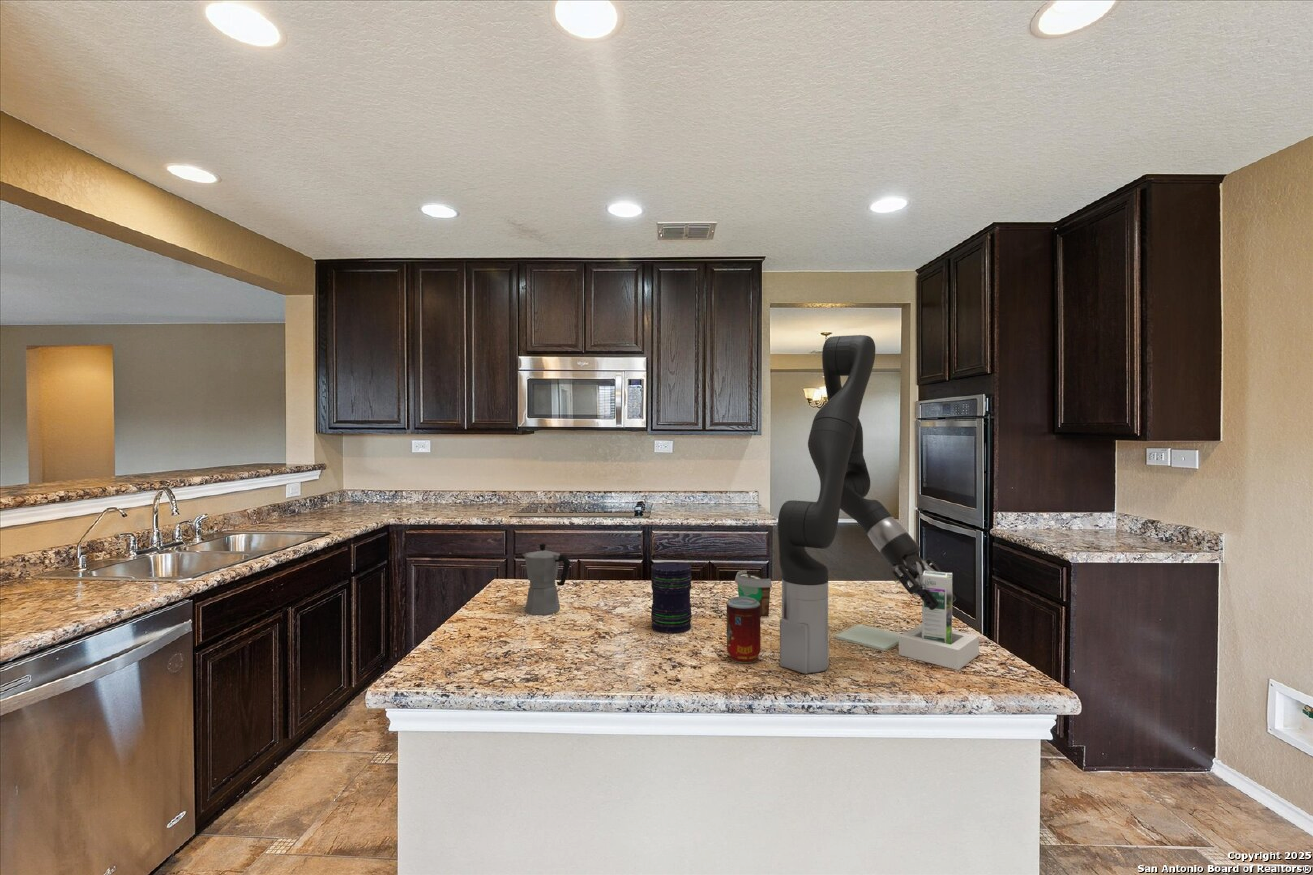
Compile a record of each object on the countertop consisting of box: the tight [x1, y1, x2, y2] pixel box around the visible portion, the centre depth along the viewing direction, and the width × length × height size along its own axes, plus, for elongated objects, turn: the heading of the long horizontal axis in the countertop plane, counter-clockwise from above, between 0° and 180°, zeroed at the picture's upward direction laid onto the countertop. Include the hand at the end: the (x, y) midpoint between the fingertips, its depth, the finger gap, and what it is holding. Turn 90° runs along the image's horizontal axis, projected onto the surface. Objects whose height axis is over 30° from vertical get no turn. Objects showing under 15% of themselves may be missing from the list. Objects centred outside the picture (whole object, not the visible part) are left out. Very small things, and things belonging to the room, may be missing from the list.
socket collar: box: [898, 623, 980, 671], centre depth 128 cm, size 12×12×4 cm
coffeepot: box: [522, 543, 571, 616], centre depth 161 cm, size 15×9×18 cm, turn 62°
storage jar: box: [650, 561, 692, 635], centre depth 147 cm, size 10×10×15 cm
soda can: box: [726, 596, 762, 664], centre depth 126 cm, size 7×7×12 cm
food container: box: [734, 569, 773, 617], centre depth 159 cm, size 12×6×10 cm, turn 25°
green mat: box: [833, 623, 902, 652], centre depth 139 cm, size 12×12×1 cm
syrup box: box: [921, 571, 953, 645], centre depth 128 cm, size 6×6×14 cm
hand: (944, 604), depth 127 cm, fingers closed on syrup box, 7 cm apart
